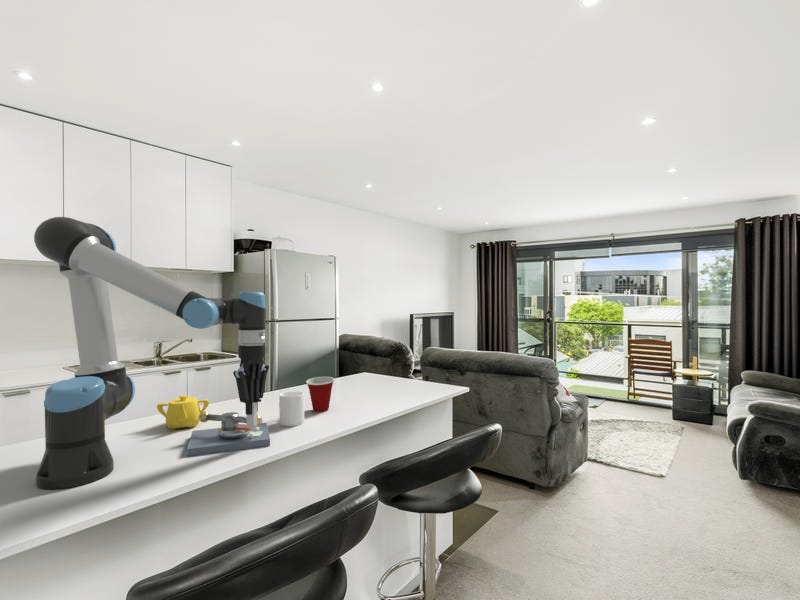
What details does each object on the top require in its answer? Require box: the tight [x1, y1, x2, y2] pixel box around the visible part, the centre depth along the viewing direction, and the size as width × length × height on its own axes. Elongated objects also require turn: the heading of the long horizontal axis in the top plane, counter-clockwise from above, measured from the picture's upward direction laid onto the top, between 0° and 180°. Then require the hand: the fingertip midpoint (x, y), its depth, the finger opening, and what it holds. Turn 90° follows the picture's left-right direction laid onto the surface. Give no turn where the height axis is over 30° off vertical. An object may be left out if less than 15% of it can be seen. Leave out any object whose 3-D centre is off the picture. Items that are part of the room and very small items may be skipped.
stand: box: [186, 422, 271, 457], centre depth 129 cm, size 22×17×3 cm
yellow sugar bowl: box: [156, 394, 210, 430], centre depth 145 cm, size 14×13×10 cm
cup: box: [278, 390, 305, 427], centre depth 148 cm, size 8×12×10 cm
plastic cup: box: [305, 376, 335, 413], centre depth 163 cm, size 11×11×12 cm
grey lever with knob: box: [198, 411, 263, 438], centre depth 128 cm, size 21×9×6 cm, turn 77°
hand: (251, 424), depth 124 cm, fingers closed
